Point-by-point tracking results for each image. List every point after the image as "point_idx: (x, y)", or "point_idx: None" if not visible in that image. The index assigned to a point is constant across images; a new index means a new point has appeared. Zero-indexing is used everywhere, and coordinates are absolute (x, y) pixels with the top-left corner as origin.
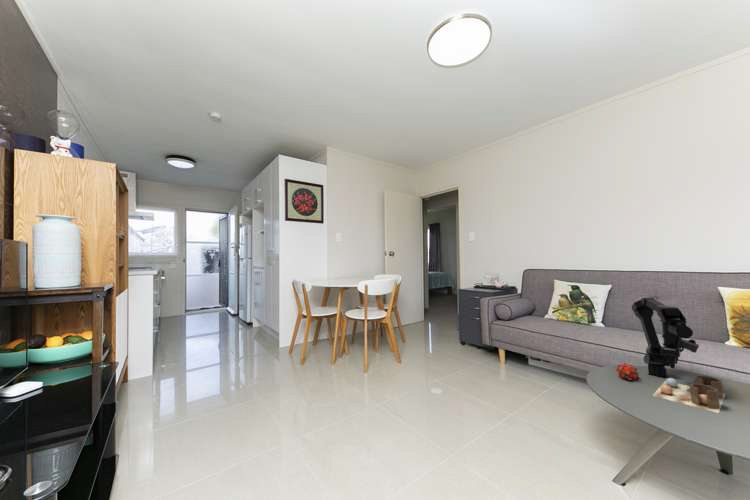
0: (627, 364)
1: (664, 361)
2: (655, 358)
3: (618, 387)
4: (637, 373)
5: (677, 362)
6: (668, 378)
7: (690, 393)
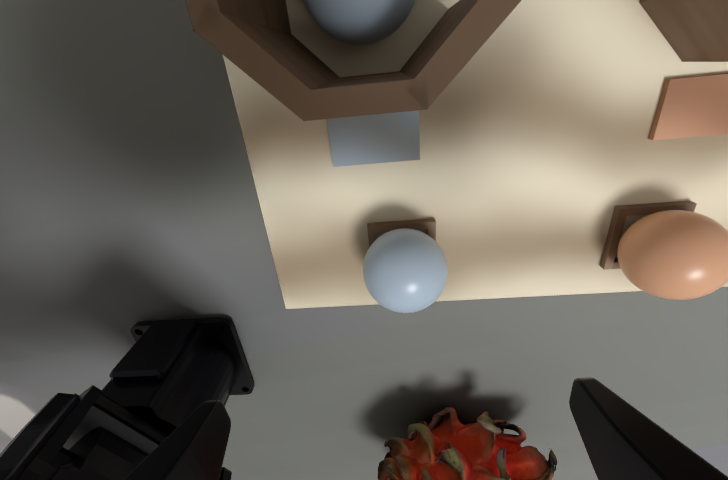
0: None
1: (129, 463)
2: None
3: (666, 421)
4: (455, 448)
5: (198, 418)
6: (418, 308)
7: (477, 119)
